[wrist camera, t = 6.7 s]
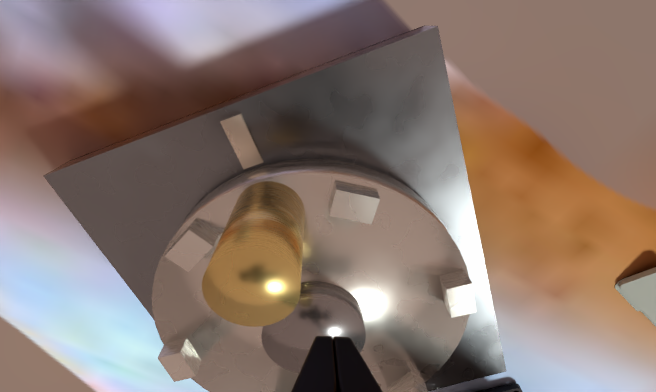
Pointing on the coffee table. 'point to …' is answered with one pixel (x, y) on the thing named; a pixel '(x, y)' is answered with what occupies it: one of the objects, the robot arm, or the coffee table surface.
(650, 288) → the metal bracket
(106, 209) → the base plate
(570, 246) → the coffee table surface
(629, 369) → the coffee table surface
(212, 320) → the silver round platform
